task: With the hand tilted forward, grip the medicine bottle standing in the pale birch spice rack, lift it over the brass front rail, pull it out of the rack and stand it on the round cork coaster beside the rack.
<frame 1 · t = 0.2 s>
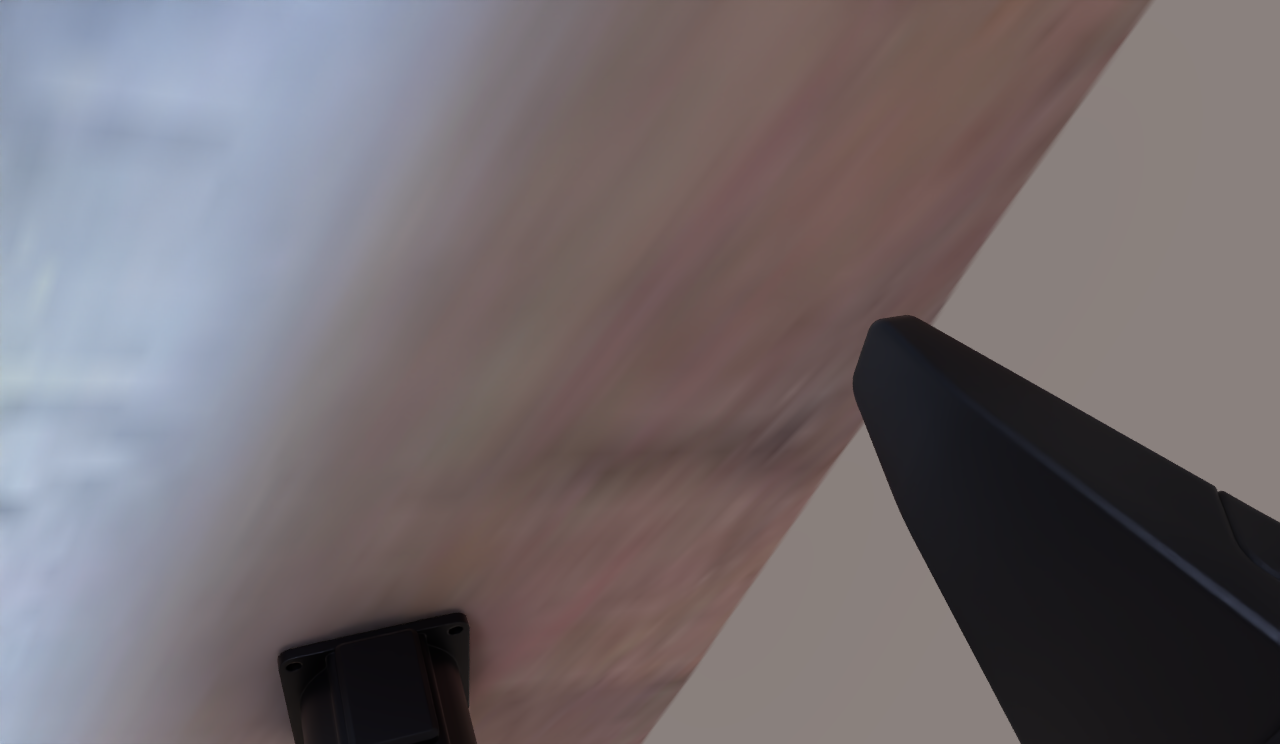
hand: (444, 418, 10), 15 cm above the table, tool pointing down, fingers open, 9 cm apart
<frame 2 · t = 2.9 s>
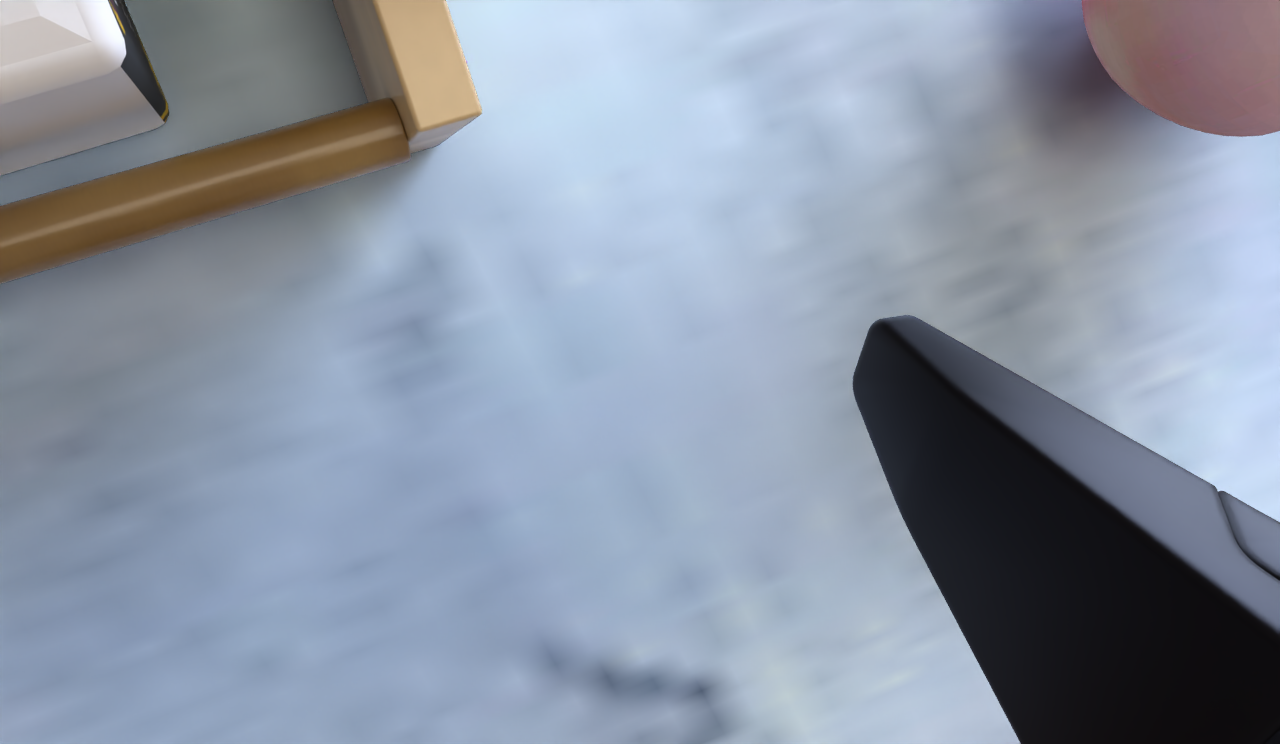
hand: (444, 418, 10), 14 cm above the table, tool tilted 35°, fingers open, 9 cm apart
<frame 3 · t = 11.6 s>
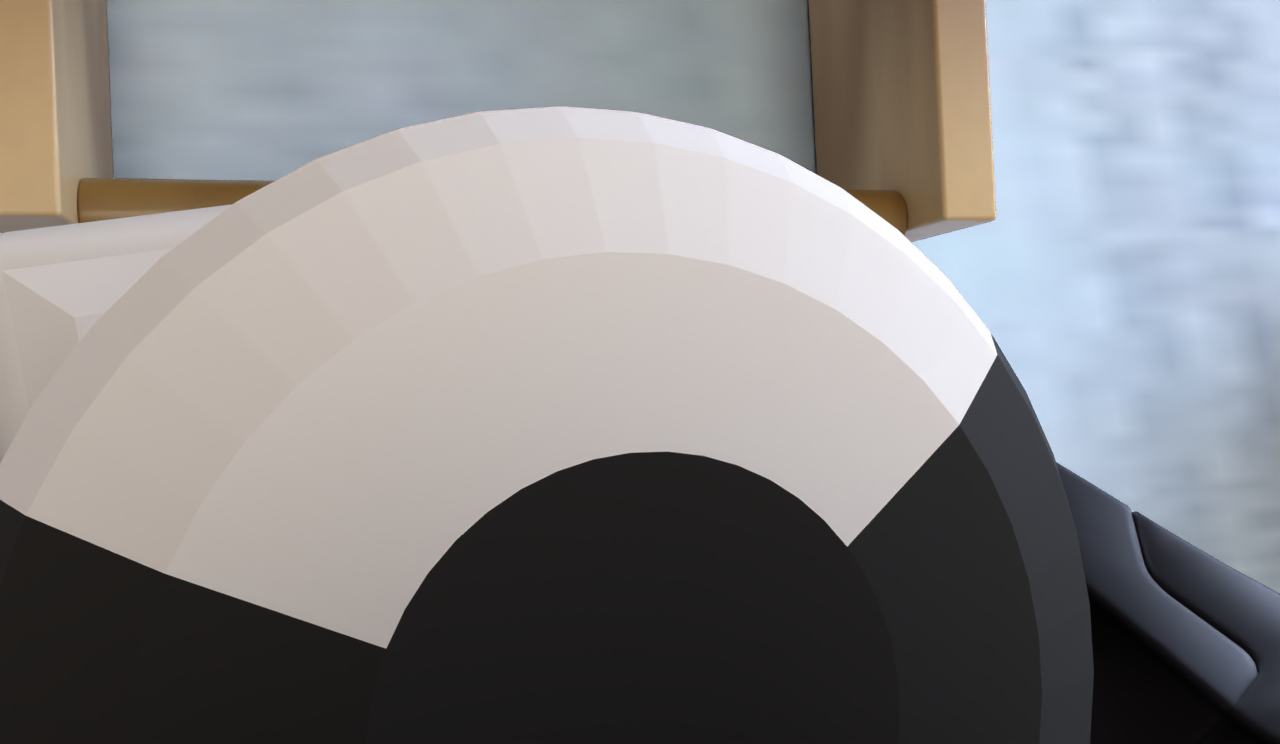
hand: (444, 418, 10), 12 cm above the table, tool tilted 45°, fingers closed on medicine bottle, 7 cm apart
spice rack: (493, 7, 22), on the table
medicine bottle: (401, 504, 16), point 5 cm above the table, touching gripper
when the fingers open (7 cm above the table, at t = 16.4 s): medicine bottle stays where it is, resting on cork coaster.
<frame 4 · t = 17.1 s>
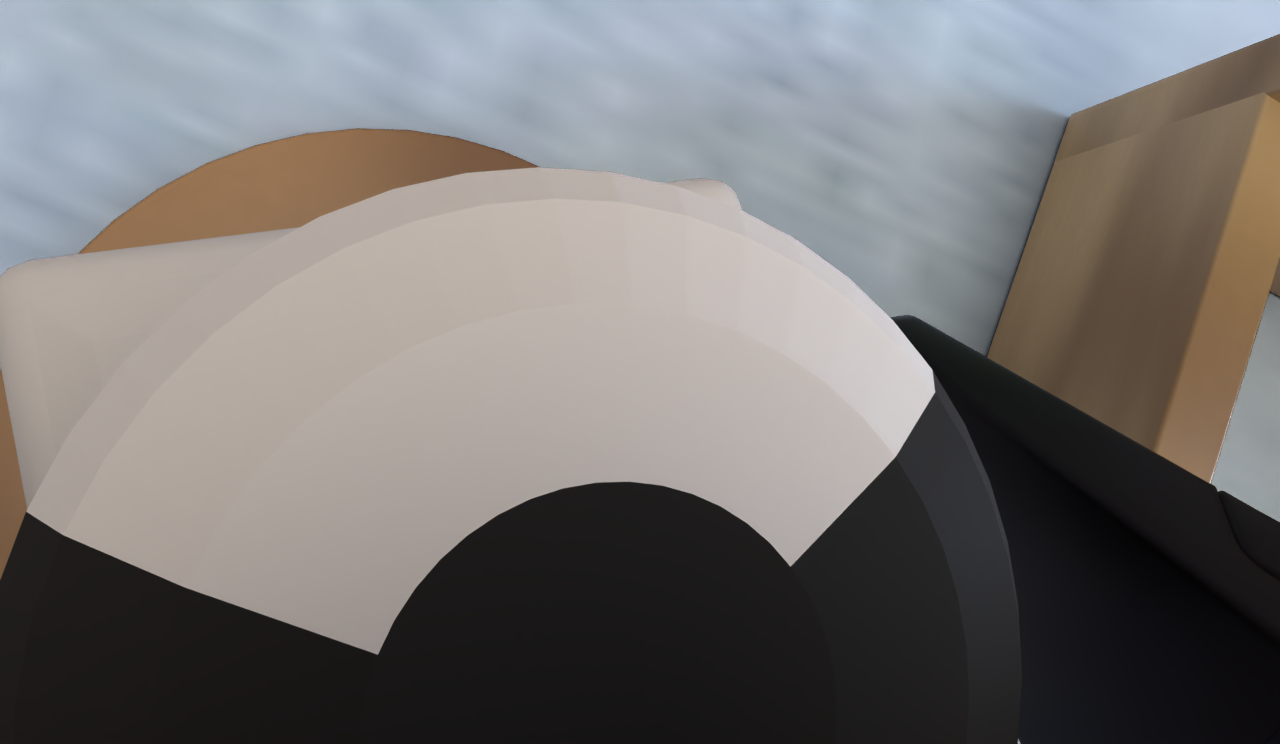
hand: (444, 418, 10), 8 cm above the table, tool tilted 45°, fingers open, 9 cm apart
cork coaster: (397, 500, 17), on the table
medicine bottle: (398, 512, 17), resting on cork coaster
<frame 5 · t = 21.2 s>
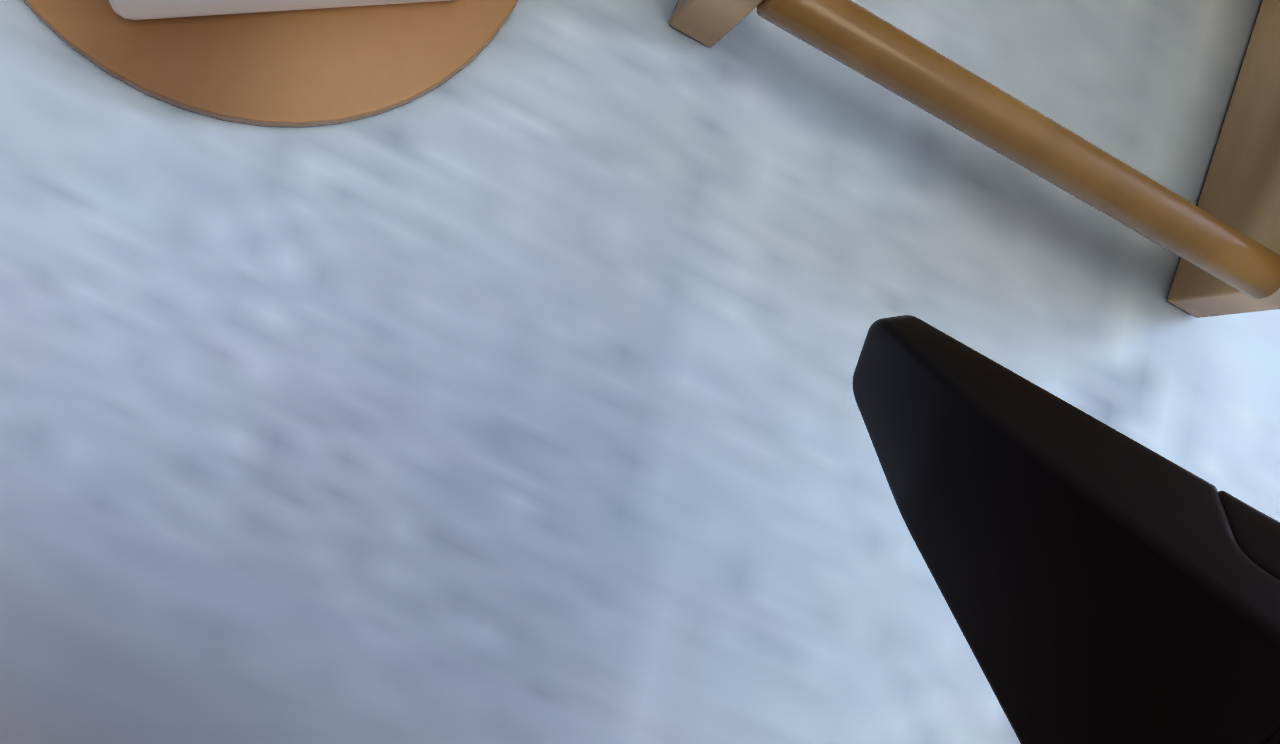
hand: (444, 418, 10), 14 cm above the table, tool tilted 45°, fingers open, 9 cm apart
spice rack: (1017, 9, 28), on the table
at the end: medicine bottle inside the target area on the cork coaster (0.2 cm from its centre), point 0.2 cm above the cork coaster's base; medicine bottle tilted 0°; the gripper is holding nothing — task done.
